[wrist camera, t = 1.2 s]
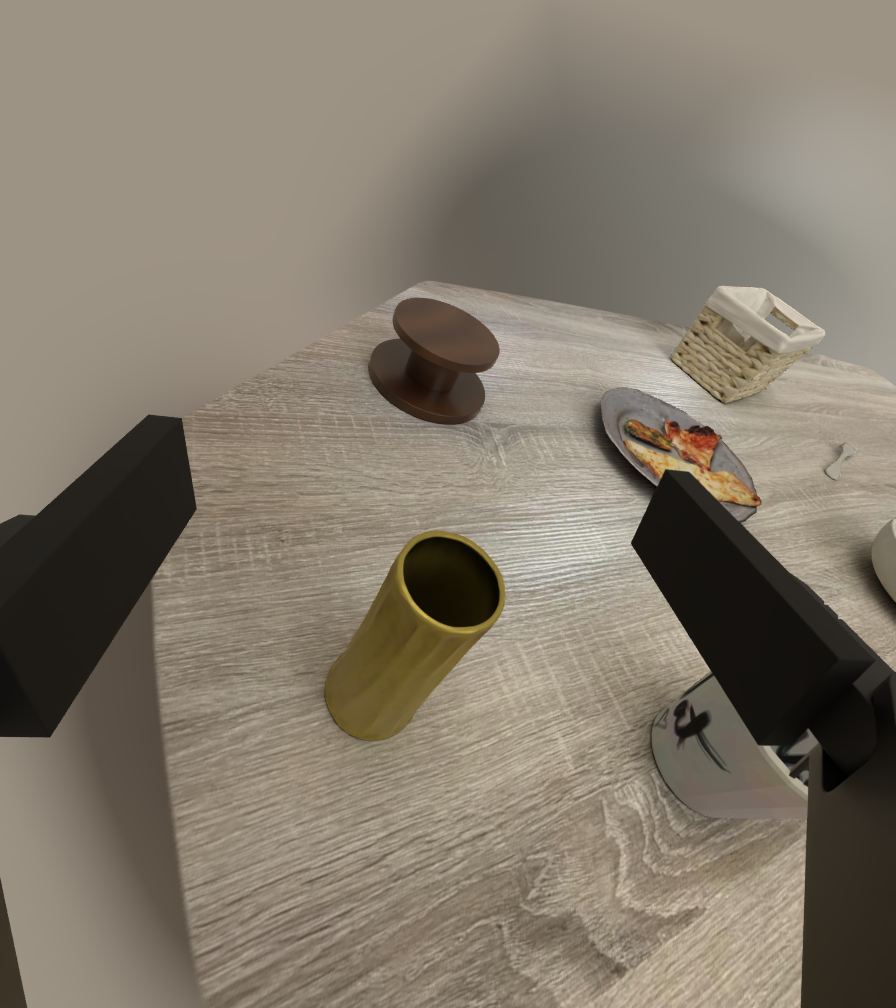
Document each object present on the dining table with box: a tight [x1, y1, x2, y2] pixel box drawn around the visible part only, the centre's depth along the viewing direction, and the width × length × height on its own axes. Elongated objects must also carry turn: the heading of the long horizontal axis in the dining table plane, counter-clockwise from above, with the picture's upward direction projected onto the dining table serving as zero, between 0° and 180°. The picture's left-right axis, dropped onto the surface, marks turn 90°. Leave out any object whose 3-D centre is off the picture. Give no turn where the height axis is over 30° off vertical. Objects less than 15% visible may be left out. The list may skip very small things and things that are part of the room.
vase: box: [325, 531, 505, 740], centre depth 26 cm, size 6×6×14 cm
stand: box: [369, 298, 500, 424], centre depth 53 cm, size 14×14×7 cm
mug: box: [651, 671, 819, 820], centre depth 33 cm, size 10×15×10 cm
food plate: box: [600, 387, 761, 522], centre depth 65 cm, size 25×23×4 cm
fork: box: [825, 442, 858, 479], centre depth 90 cm, size 3×21×3 cm, turn 132°
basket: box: [671, 286, 825, 403], centre depth 91 cm, size 24×16×15 cm
